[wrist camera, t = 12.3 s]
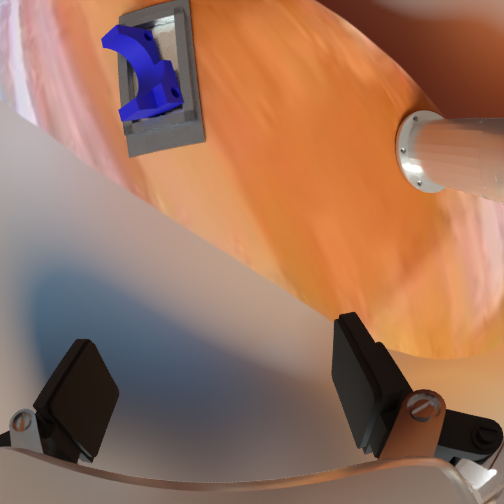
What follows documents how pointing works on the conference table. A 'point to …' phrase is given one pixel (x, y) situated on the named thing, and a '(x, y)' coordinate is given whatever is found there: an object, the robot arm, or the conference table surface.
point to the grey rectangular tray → (183, 61)
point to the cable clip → (145, 73)
